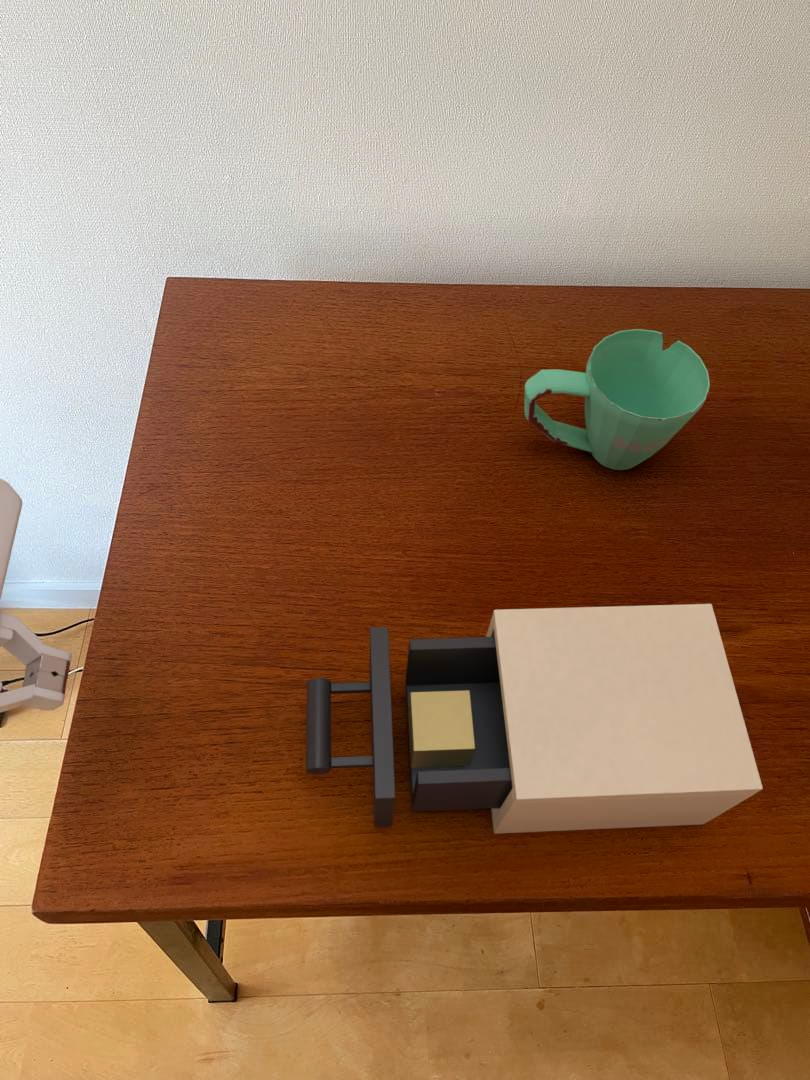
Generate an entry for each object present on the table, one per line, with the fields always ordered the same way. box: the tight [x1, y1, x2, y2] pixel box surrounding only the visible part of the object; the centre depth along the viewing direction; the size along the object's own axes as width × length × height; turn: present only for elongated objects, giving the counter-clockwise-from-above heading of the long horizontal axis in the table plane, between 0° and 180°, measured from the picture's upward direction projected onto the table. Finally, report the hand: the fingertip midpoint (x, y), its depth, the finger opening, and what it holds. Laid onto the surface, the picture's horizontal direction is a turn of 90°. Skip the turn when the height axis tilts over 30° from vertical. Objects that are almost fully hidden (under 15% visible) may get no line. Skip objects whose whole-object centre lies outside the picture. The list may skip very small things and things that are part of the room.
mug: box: [523, 328, 711, 471], centre depth 68 cm, size 15×10×10 cm
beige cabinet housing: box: [485, 603, 764, 835], centre depth 54 cm, size 15×12×10 cm
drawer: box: [305, 626, 513, 828], centre depth 54 cm, size 18×11×8 cm, turn 93°
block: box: [407, 690, 475, 768], centre depth 54 cm, size 4×4×4 cm
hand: (63, 682), depth 44 cm, fingers closed
